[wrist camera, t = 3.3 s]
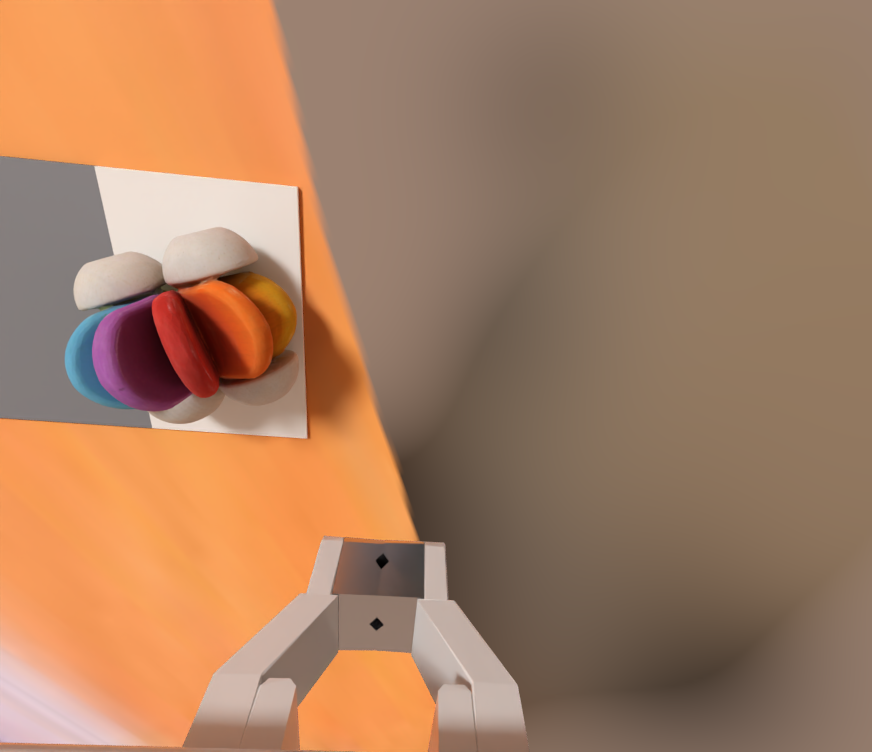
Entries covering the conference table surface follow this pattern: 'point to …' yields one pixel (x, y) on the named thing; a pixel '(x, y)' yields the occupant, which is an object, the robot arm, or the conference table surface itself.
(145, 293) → the rainbow segmented toy
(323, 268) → the conference table surface
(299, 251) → the game mat
